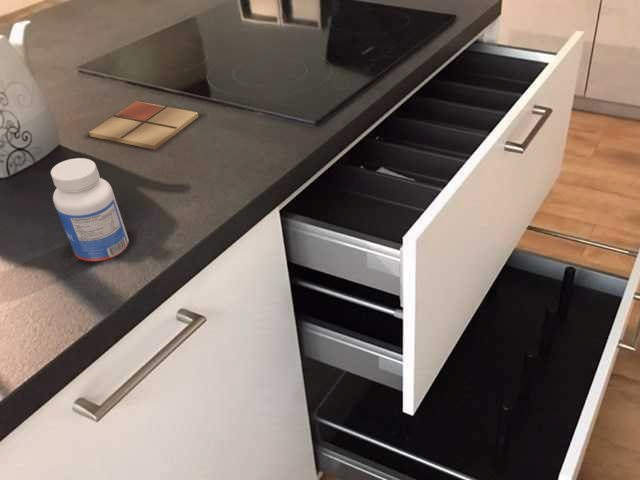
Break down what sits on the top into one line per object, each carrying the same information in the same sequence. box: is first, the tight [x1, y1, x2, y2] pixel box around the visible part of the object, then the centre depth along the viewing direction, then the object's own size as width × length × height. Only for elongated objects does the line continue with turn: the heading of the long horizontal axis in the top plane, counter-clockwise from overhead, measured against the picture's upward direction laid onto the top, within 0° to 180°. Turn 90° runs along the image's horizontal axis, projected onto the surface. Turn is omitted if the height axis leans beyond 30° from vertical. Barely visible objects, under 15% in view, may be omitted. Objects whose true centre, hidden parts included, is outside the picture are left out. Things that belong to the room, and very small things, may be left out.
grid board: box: [88, 100, 200, 150], centre depth 88 cm, size 10×10×1 cm
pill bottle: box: [50, 157, 130, 262], centre depth 65 cm, size 6×5×10 cm
